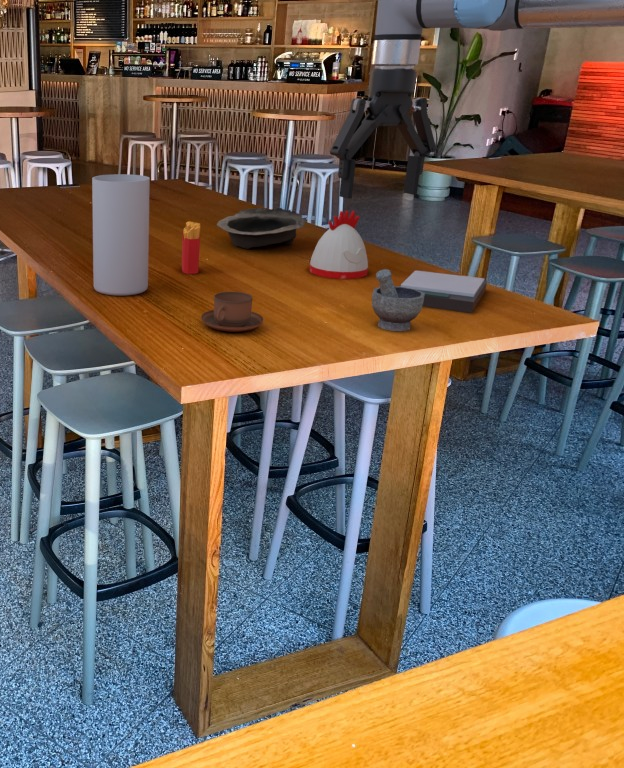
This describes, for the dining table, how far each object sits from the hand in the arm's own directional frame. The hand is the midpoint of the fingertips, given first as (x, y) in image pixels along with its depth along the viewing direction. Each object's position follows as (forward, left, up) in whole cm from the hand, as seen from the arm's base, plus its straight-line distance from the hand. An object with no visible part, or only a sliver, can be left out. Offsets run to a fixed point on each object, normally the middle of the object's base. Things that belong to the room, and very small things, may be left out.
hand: (378, 195), depth 142 cm
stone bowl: (+65, +46, -26) cm, 84 cm away
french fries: (+28, +50, -26) cm, 63 cm away
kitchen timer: (+46, +18, -26) cm, 56 cm away
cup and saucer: (-9, +23, -26) cm, 36 cm away
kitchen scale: (+35, -8, -26) cm, 44 cm away
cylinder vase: (+4, +56, -26) cm, 62 cm away
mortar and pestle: (+7, -4, -26) cm, 27 cm away
